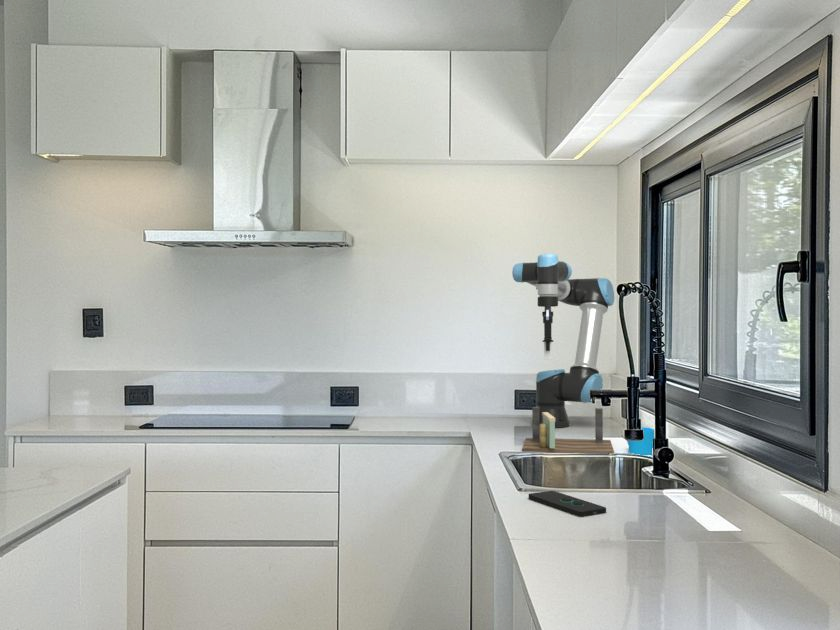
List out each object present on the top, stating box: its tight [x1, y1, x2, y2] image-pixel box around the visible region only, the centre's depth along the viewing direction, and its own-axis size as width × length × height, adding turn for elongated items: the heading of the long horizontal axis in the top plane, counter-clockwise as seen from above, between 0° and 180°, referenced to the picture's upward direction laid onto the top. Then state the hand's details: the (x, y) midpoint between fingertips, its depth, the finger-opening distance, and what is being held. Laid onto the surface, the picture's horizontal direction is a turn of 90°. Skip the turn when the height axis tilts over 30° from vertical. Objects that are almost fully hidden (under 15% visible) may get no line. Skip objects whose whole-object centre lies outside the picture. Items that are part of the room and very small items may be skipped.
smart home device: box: [528, 490, 607, 518], centre depth 180 cm, size 8×2×20 cm
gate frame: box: [521, 406, 615, 454], centre depth 261 cm, size 23×30×13 cm
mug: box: [626, 426, 655, 456], centre depth 249 cm, size 12×8×8 cm
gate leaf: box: [542, 412, 556, 448], centre depth 258 cm, size 2×18×10 cm, turn 179°
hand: (548, 359), depth 278 cm, fingers closed
